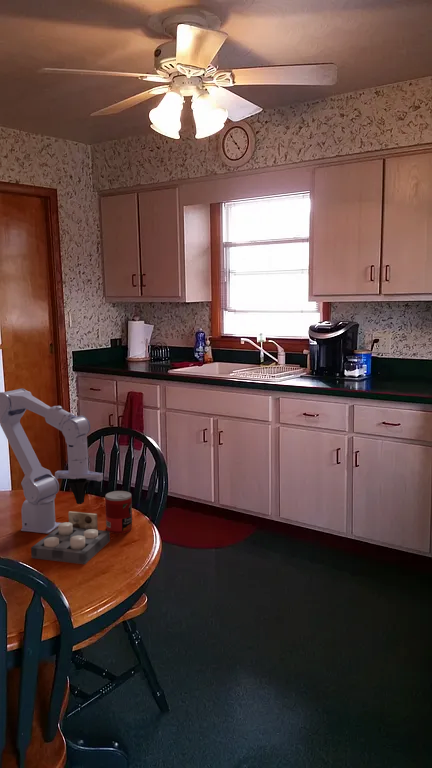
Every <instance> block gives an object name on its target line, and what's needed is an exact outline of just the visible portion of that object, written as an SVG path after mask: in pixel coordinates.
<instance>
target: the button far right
mask: <svg viewBox="0 0 432 768" xmlns="http://www.w3.org/2000/svg"><path fill="white" fill-rule="evenodd" d="M98 530H99V529H98ZM98 530H96V529H88V530H86V531H84V537H85V538H90V539H95V538H97V537H98Z"/></svg>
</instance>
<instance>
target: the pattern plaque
mask: <svg viewBox="0 0 432 768" xmlns="http://www.w3.org/2000/svg"><path fill="white" fill-rule="evenodd" d="M68 522H70V523H72V524H73V527H74V528H84V529H96V530H99V529H98V525H99V524H98V514H97V513H92V512H81V511H70V510H69V511H68Z"/></svg>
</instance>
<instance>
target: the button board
mask: <svg viewBox="0 0 432 768" xmlns="http://www.w3.org/2000/svg"><path fill="white" fill-rule="evenodd" d="M86 530H88V529H84V528H74V527H73V534H71V535H70V536H62V535H59V530H58V527H57V528H55V529H54V530H53V531H51V532H50V533H48V535H46V536H45V537H44V538H42V539H40V540H39V541H38V542H37V543H35V544H34V545H32V546H31V547H30V550H31V552H30V553H31V559H36V560H45V561H53V562H62V563H69V564H79V565H87V563H88V562H89V561H90V560H92V558H94V557H95V556H96V555H97V554H98V553H99V552H100V551H101V550H102V549H103V548H105V546H106V545H107V544H108V543H110V542H111V533H110V531H107V530H100V529H98V537H97V538H95V539H90V538H85V548H84V549H83V550H73V549H71V547H70V538H71V537H73V536H77V535H81V536H84V531H86ZM49 537H57V538H59V545H58V546H56V547H46V546H44V540H45V539H46V538H49Z"/></svg>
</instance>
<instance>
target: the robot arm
mask: <svg viewBox="0 0 432 768" xmlns="http://www.w3.org/2000/svg"><path fill="white" fill-rule="evenodd" d="M27 410H28V411H29V412H33V413H35V414H37V415H39V416H41V417H43V418H44V420H45V423H46V424H48V425H50V426H51V427H54V428H55V429H57V430H58V431H60V432H61V433H62V435H63V437H64V439H65V441H64V442H65V443H66V446H67V447H66V449H67V450H66V451H67V464H68V465H67V466H68V468H67V469H68V470H57V471H55V472H54V475H53V473H52V472H51V470H50V469H47V468H45V467H43V466H42V464H41V462H40V461H39V459H38V456H37V454H36V453H35V451H34V449H33V445H32V444H31V442H30V440H29V438H28V436H27V434H26V432H25V430H24V427H23V426H22V423H21V418H23V416H24V414H25V412H26V411H27ZM0 428H1V429H2V431H3V433H4V436H5V437H6V439H7V442H8V443H9V445H10V447H11V448H10V449H12V451H13V454H14V455H15V458H16V460H17V462H18V463H19V466H20V468H21V470H22V472H23V474H24V476H23V478H22V481H21V483H20V485H21V487H22V490H23V495H24V497H25V500H24V501H23V503H22V505H21V526H22V527H21V529H20V532H21V531H22V532H28V533H30V532H31V533H37V534H38V533H39V534H48V535H49V534H50V533H51V532H53V531H54V530H56V529H57V528H58V525H59V524H61V523H62V522H57V521H56V509H55V508H56V507H55V499H56V497H57V495H56V494H58V493H59V490H60V483H59V479H67V480H68V479H69V480H68V482H67V486H68V487H69V488H70V490H71V492H72V493H73V496H74V498H75V499H74V500H75V501H76V505H83V503H84V502H85V497H86V493H87V490H88V487H89V485H90V483H91V481H97V482H102V481H103V480H104V473H103V472H96V471H92V470H89V454H88V453H89V451H88V434H90V432H91V431H90V430H91V423H90V420H89V419H88V418H87V417H86V416H85V415H75V414H74V413H73V412H69V411H67V410H65V409H64V408H63V406H61V405H53V406H50V405H48V404H46V403H45V402H43V401H42V400H40V399H39V398H37V397H36V396H33V394H32V392H31V391H28V390H26V389H25V388H17V389H14V390H8V391H2V392H1V391H0Z"/></svg>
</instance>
